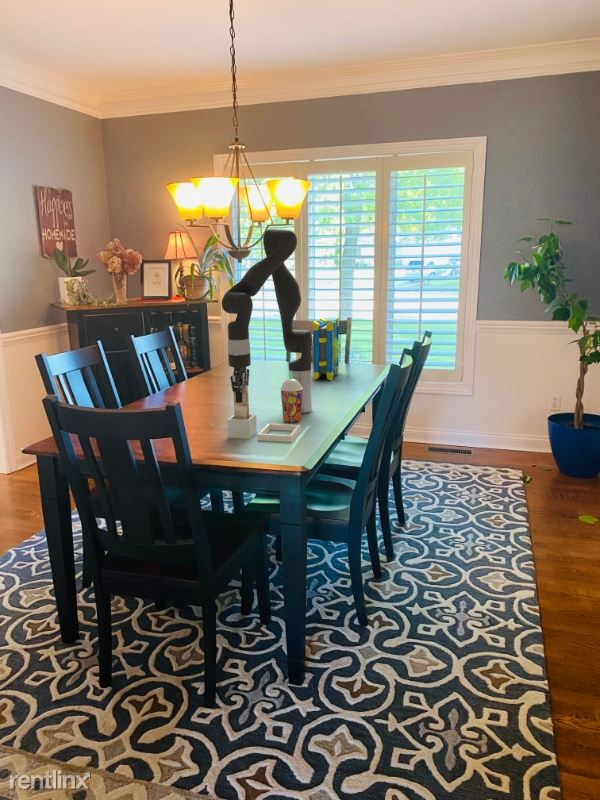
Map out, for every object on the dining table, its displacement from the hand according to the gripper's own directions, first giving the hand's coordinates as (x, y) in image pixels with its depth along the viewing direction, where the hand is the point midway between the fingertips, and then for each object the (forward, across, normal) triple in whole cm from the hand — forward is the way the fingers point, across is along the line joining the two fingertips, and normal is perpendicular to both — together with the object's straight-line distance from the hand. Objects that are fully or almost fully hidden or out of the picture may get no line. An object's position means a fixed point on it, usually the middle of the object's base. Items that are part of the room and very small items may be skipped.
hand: (241, 400), depth 204 cm
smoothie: (+14, -21, +13) cm, 28 cm away
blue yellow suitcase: (+14, -111, +10) cm, 112 cm away
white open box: (+13, 0, 0) cm, 13 cm away
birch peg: (+7, 0, 0) cm, 7 cm away
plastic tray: (+13, -2, +13) cm, 19 cm away
